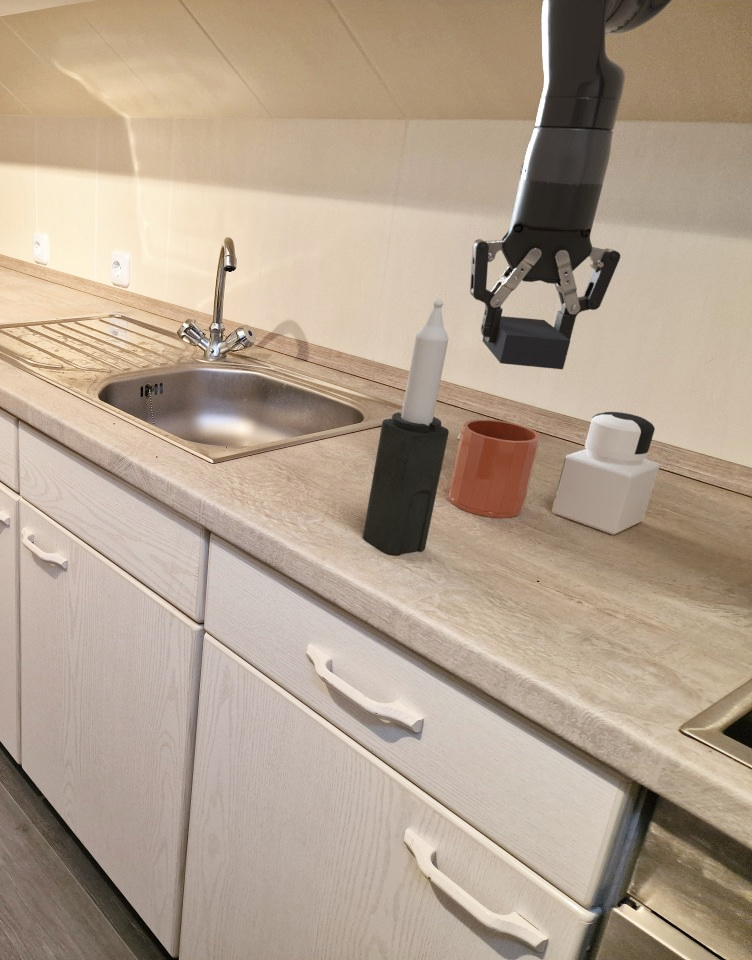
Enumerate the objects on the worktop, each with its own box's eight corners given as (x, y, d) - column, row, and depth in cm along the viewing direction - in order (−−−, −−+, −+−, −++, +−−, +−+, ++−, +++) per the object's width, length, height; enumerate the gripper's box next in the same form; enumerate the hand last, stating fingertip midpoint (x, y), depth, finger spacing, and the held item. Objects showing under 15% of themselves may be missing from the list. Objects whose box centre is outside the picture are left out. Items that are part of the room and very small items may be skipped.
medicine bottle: (580, 500, 101) (606, 403, 97) (643, 522, 96) (674, 420, 91) (549, 513, 97) (575, 412, 93) (614, 536, 92) (644, 431, 87)
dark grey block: (538, 346, 96) (544, 319, 95) (563, 369, 86) (570, 340, 85) (482, 341, 97) (487, 314, 96) (500, 363, 87) (506, 334, 86)
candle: (396, 529, 91) (440, 294, 82) (430, 550, 87) (480, 303, 77) (357, 535, 89) (398, 295, 80) (390, 556, 85) (437, 305, 75)
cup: (514, 495, 102) (531, 424, 98) (528, 522, 95) (547, 445, 91) (444, 487, 103) (458, 416, 100) (453, 512, 96) (469, 437, 93)
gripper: (491, 175, 83) (456, 345, 89) (653, 184, 80) (606, 359, 86) (478, 172, 89) (447, 331, 96) (627, 181, 87) (585, 344, 93)
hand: (522, 344), depth 91 cm, fingers closed on dark grey block, 6 cm apart
